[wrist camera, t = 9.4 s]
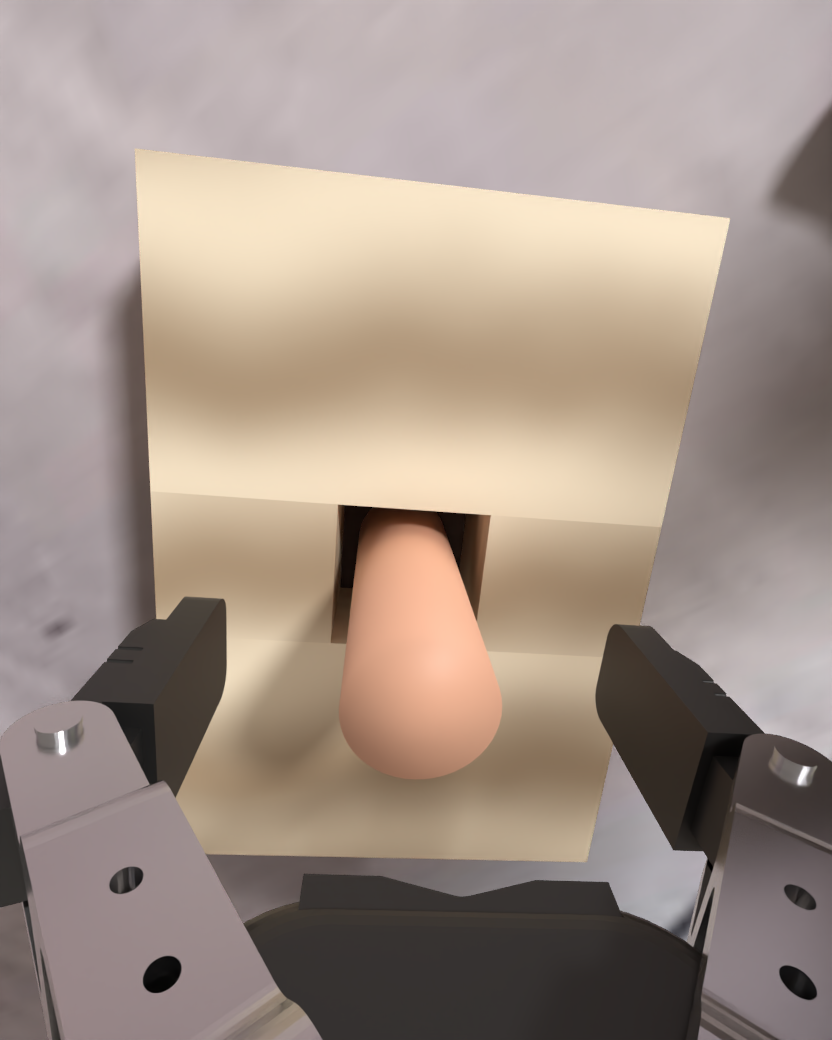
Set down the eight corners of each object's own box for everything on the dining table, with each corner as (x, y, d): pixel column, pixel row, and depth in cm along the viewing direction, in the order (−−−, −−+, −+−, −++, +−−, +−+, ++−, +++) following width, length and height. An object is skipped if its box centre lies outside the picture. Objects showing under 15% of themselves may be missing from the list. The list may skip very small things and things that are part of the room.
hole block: (191, 194, 17) (134, 148, 13) (655, 245, 18) (730, 218, 14) (203, 766, 22) (167, 853, 18) (553, 777, 23) (586, 862, 20)
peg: (361, 492, 19) (343, 634, 10) (448, 499, 20) (512, 643, 10) (356, 574, 20) (334, 777, 11) (440, 579, 21) (491, 781, 11)
